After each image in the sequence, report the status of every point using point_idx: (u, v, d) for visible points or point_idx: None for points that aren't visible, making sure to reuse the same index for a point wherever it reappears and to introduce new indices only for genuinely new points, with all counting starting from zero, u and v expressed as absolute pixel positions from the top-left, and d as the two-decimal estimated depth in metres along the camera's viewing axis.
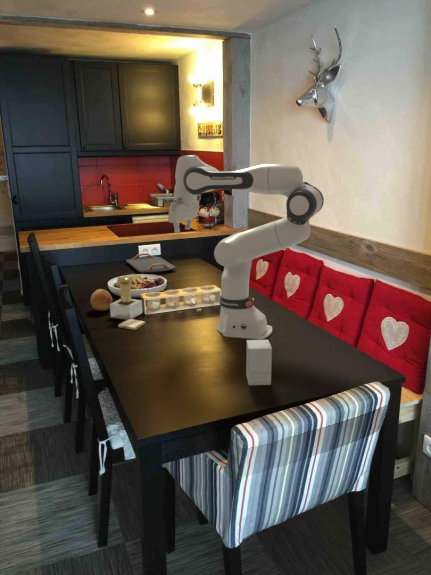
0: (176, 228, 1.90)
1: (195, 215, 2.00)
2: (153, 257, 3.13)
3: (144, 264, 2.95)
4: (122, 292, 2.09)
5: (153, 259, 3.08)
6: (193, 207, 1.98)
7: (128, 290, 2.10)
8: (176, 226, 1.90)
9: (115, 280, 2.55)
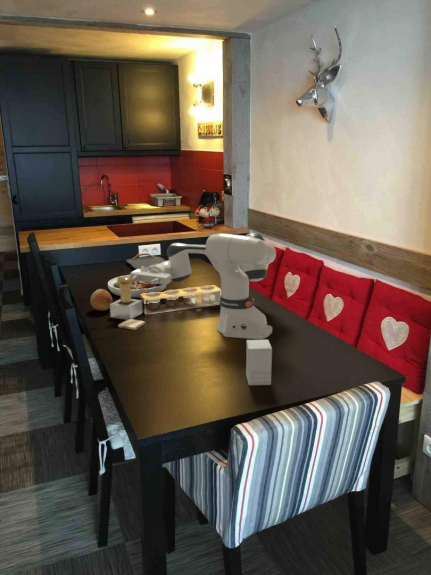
0: (154, 281, 2.22)
1: None
2: (153, 257, 3.13)
3: (144, 264, 2.95)
4: (122, 292, 2.09)
5: (153, 259, 3.08)
6: None
7: (128, 290, 2.10)
8: (156, 281, 2.23)
9: (115, 280, 2.55)
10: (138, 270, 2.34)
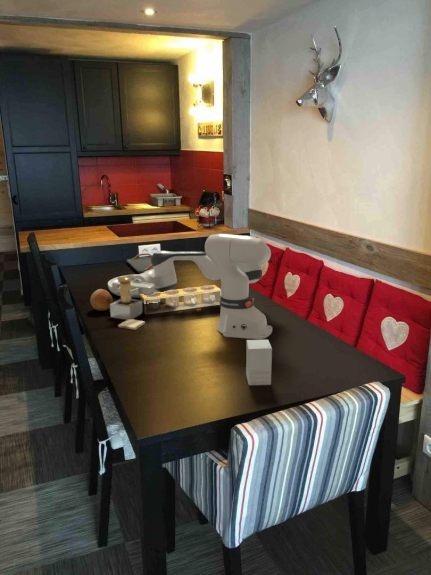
0: (134, 291, 2.11)
1: None
2: None
3: (144, 264, 2.95)
4: (122, 292, 2.09)
5: None
6: None
7: (128, 290, 2.10)
8: (136, 291, 2.11)
9: (115, 280, 2.55)
10: None
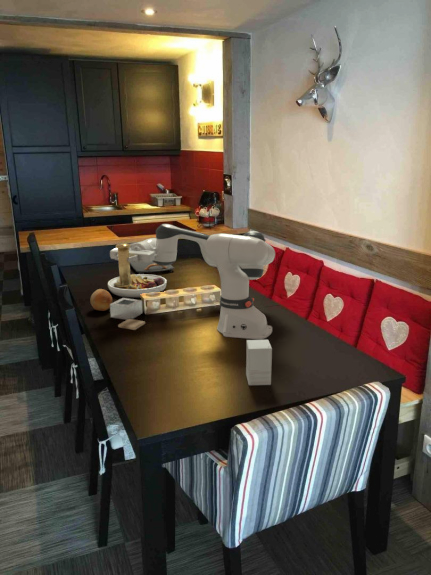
0: (133, 259, 2.03)
1: None
2: None
3: (143, 264, 2.96)
4: (120, 260, 2.01)
5: None
6: None
7: (127, 257, 2.02)
8: (135, 259, 2.03)
9: (115, 280, 2.55)
10: None
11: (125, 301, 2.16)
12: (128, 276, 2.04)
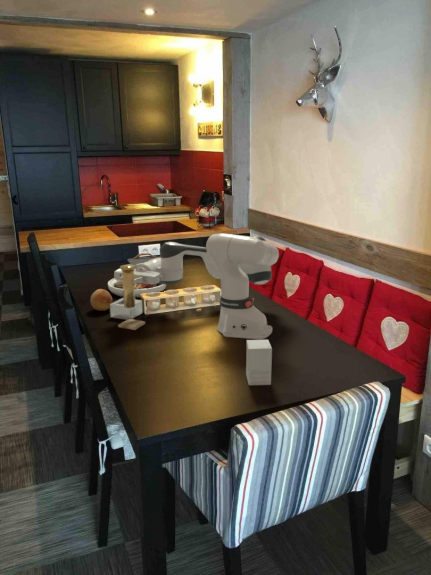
0: (138, 281, 1.97)
1: None
2: (155, 257, 3.13)
3: None
4: (124, 282, 1.95)
5: None
6: None
7: (131, 279, 1.95)
8: (140, 281, 1.97)
9: (115, 280, 2.55)
10: None
11: None
12: (132, 298, 1.98)
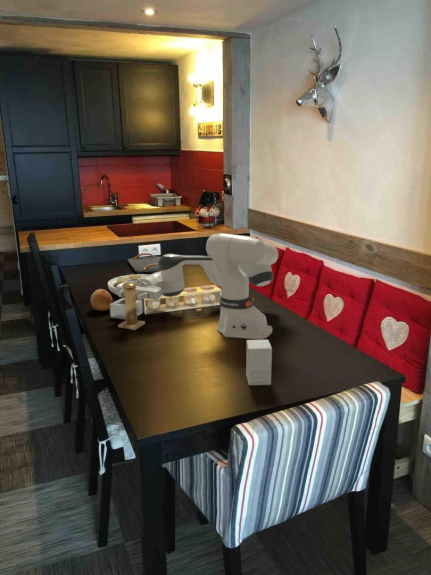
0: (143, 296, 1.97)
1: None
2: (155, 257, 3.13)
3: (143, 264, 2.96)
4: (126, 299, 1.97)
5: (154, 259, 3.08)
6: None
7: (133, 296, 1.97)
8: (145, 296, 1.98)
9: (115, 280, 2.55)
10: None
11: None
12: (134, 316, 2.00)
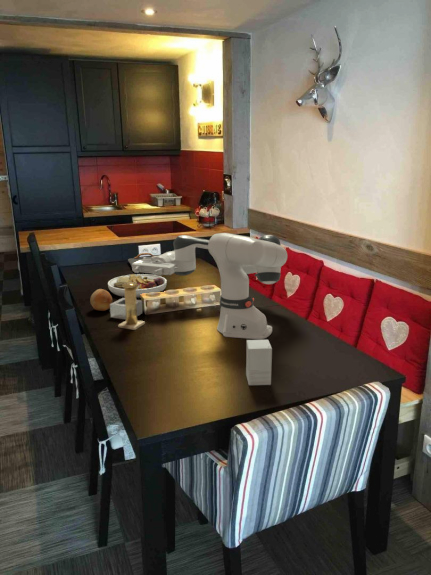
0: (158, 272, 2.11)
1: None
2: None
3: None
4: (126, 299, 1.97)
5: None
6: None
7: (134, 296, 1.97)
8: (160, 272, 2.11)
9: (115, 280, 2.55)
10: (140, 261, 2.22)
11: None
12: (134, 316, 2.00)
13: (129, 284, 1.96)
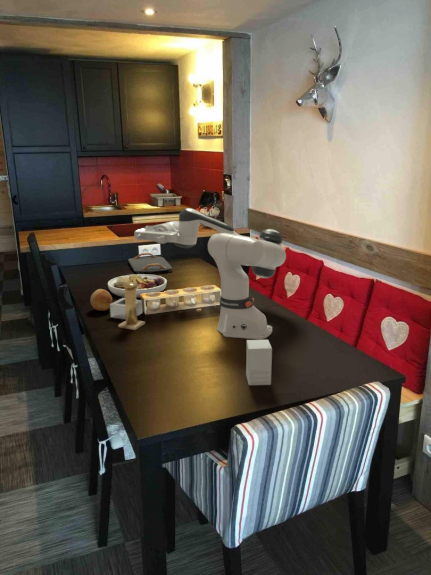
0: (160, 239, 2.11)
1: None
2: (156, 257, 3.14)
3: (143, 264, 2.96)
4: (127, 299, 1.97)
5: (154, 259, 3.09)
6: None
7: (134, 296, 1.97)
8: (162, 239, 2.12)
9: (115, 280, 2.55)
10: (142, 229, 2.23)
11: None
12: (135, 316, 2.00)
13: (129, 284, 1.97)
